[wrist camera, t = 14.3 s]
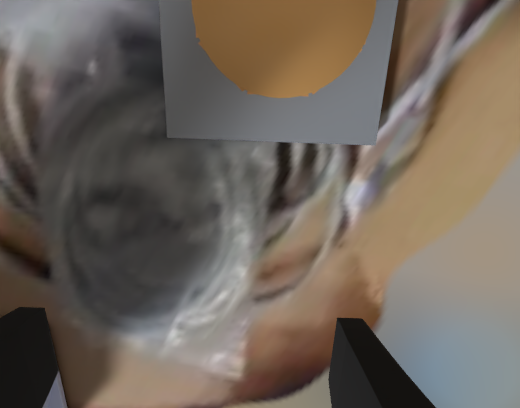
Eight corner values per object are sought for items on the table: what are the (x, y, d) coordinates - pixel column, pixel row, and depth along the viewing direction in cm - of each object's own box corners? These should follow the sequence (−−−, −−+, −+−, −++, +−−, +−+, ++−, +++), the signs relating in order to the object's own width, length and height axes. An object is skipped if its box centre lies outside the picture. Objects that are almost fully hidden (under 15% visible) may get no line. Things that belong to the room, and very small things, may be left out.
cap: (212, 79, 16) (194, 94, 11) (211, -69, 14) (188, -116, 9) (336, 84, 16) (362, 101, 11) (352, -63, 14) (391, -108, 9)
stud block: (369, 139, 18) (402, 171, 13) (171, 132, 18) (143, 161, 13) (411, -139, 14) (475, -216, 9) (156, -150, 14) (109, -232, 9)
